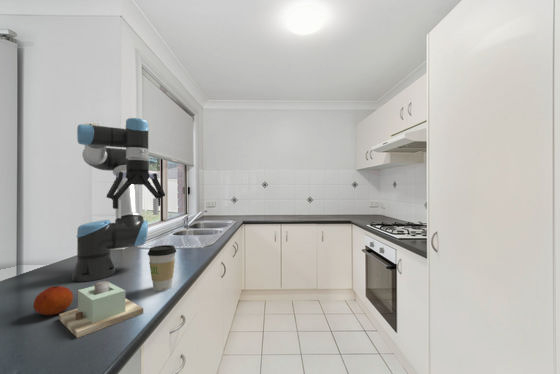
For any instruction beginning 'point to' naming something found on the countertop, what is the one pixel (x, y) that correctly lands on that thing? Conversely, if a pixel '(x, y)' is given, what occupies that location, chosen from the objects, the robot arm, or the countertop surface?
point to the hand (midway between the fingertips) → (138, 216)
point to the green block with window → (101, 303)
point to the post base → (84, 326)
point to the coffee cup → (162, 266)
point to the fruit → (53, 300)
